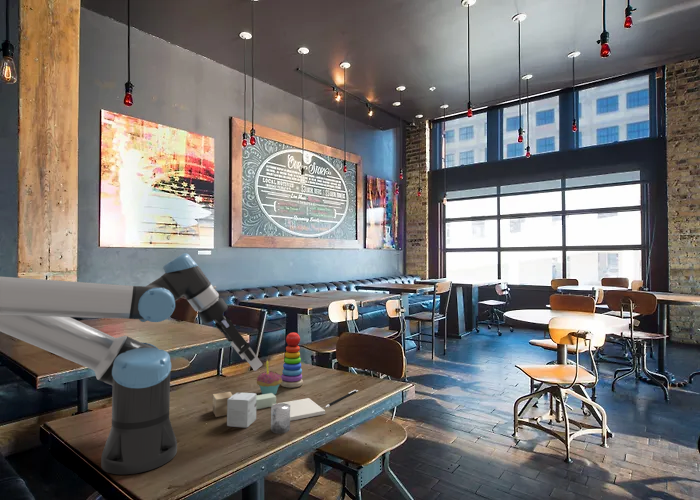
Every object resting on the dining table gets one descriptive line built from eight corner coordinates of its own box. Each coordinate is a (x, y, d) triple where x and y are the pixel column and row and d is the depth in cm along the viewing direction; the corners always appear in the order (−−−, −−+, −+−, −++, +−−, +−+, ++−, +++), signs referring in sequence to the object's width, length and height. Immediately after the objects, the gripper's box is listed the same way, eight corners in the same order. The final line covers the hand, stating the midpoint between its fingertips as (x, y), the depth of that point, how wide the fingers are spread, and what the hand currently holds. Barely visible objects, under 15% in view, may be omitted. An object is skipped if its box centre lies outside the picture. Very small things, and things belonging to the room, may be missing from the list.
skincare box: (247, 428, 107) (247, 400, 107) (226, 426, 108) (226, 398, 108) (256, 419, 113) (257, 393, 113) (236, 417, 114) (236, 391, 114)
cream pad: (286, 421, 112) (286, 418, 112) (272, 407, 122) (272, 404, 122) (325, 414, 118) (325, 410, 118) (308, 401, 128) (308, 398, 128)
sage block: (253, 410, 120) (253, 400, 120) (250, 406, 124) (250, 396, 124) (276, 406, 124) (276, 396, 124) (271, 402, 127) (272, 392, 127)
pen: (358, 392, 138) (358, 388, 138) (326, 409, 122) (326, 405, 122) (356, 391, 139) (356, 388, 139) (324, 408, 123) (324, 404, 123)
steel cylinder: (274, 434, 103) (274, 411, 104) (268, 427, 108) (268, 405, 108) (292, 431, 106) (293, 408, 106) (286, 424, 110) (286, 402, 110)
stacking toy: (301, 388, 140) (302, 334, 141) (278, 388, 140) (279, 334, 141) (304, 381, 148) (304, 330, 149) (282, 381, 148) (283, 330, 149)
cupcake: (275, 398, 130) (276, 361, 130) (251, 396, 132) (252, 359, 132) (285, 390, 138) (285, 355, 139) (262, 388, 140) (262, 353, 140)
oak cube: (215, 417, 115) (216, 399, 115) (212, 411, 119) (213, 394, 119) (233, 414, 117) (233, 396, 117) (229, 408, 122) (230, 391, 122)
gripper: (229, 300, 102) (275, 363, 107) (212, 292, 124) (251, 344, 129) (203, 319, 99) (252, 382, 104) (191, 307, 121) (232, 360, 126)
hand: (252, 361), depth 117 cm, fingers open, 13 cm apart
